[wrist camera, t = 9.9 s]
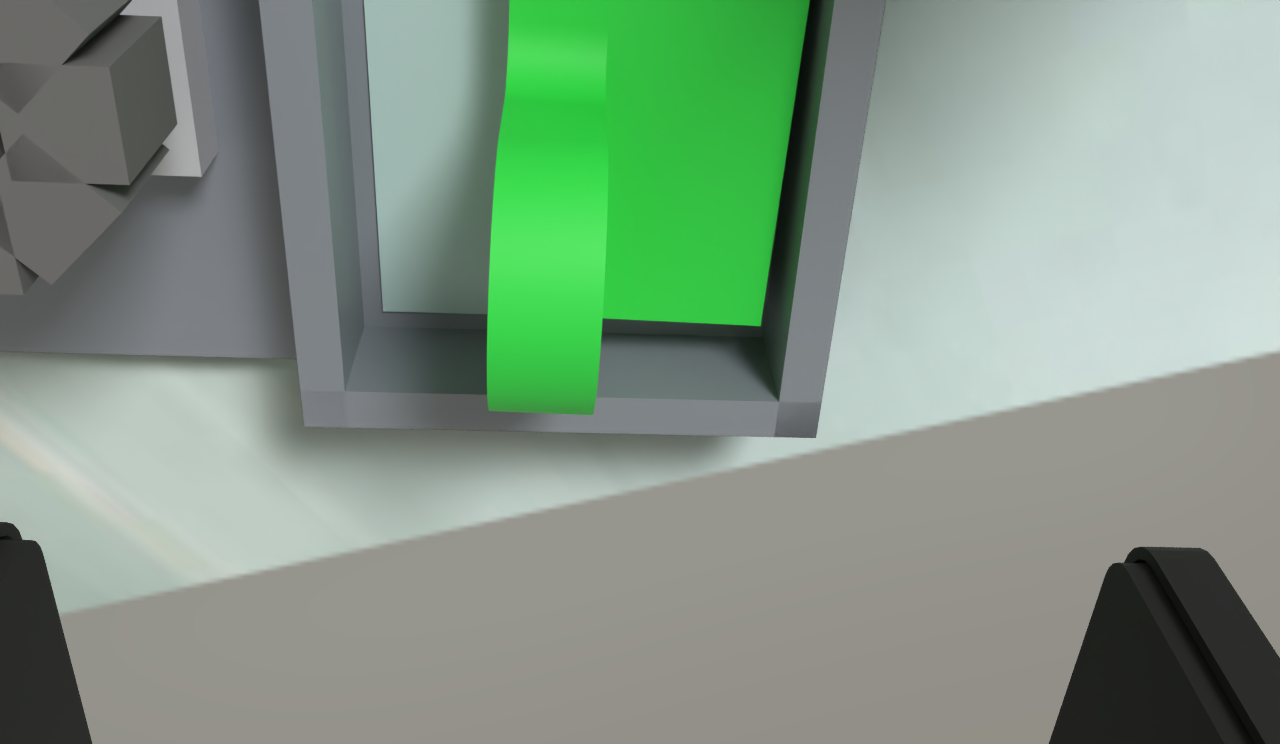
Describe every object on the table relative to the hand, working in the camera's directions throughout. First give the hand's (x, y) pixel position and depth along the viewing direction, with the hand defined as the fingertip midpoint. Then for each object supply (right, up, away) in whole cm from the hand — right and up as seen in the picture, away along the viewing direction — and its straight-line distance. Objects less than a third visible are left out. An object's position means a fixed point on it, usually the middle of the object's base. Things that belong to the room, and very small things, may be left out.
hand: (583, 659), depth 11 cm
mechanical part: (+1, +10, +16) cm, 19 cm away
